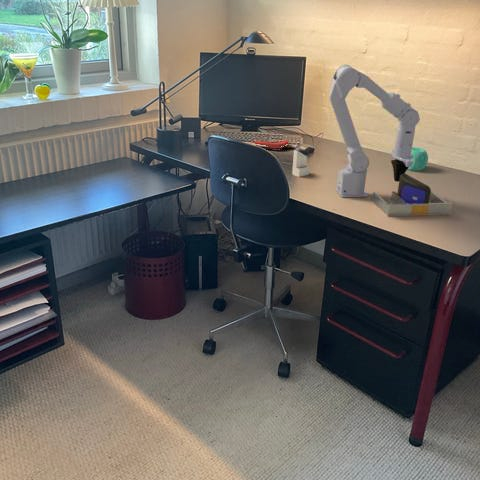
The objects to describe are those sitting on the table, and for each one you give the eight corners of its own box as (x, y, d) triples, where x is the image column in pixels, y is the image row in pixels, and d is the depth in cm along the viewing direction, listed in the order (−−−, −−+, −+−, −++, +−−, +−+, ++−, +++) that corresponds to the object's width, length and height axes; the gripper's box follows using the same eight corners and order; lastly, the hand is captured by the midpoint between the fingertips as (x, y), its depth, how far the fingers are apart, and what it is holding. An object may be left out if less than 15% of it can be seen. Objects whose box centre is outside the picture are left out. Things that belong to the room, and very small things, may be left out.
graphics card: (280, 156, 234) (280, 147, 232) (213, 148, 243) (213, 139, 241) (291, 146, 251) (292, 137, 249) (228, 138, 260) (228, 130, 258)
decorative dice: (411, 164, 226) (414, 146, 223) (426, 169, 220) (430, 150, 217) (398, 167, 222) (401, 148, 219) (413, 172, 216) (416, 152, 213)
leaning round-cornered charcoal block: (389, 198, 186) (393, 172, 182) (400, 197, 187) (404, 172, 184) (415, 215, 172) (420, 187, 168) (427, 214, 173) (432, 187, 169)
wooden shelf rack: (388, 216, 171) (389, 204, 169) (372, 200, 184) (373, 189, 183) (450, 215, 173) (452, 203, 172) (430, 199, 187) (432, 188, 185)
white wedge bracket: (284, 170, 205) (293, 149, 205) (299, 178, 212) (308, 158, 212) (291, 172, 203) (300, 151, 202) (306, 181, 210) (315, 160, 209)
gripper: (424, 148, 176) (417, 187, 182) (406, 137, 189) (400, 174, 195) (403, 148, 175) (397, 187, 181) (387, 137, 188) (382, 174, 194)
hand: (397, 180), depth 188 cm, fingers closed
